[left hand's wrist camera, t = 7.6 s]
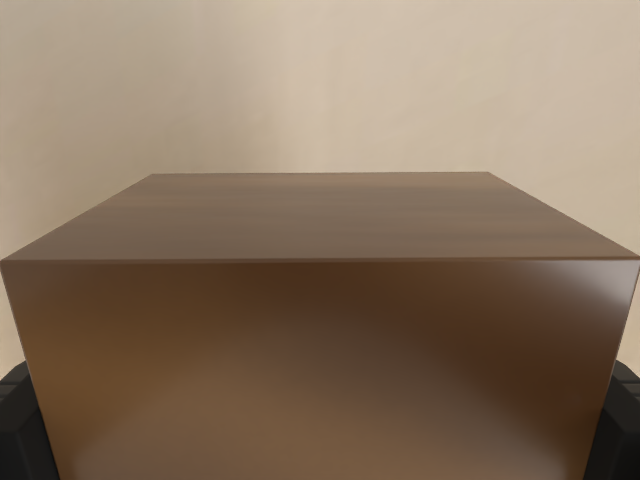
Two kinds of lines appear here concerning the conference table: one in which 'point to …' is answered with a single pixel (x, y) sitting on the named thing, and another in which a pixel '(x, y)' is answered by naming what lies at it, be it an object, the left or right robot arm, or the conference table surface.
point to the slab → (321, 329)
